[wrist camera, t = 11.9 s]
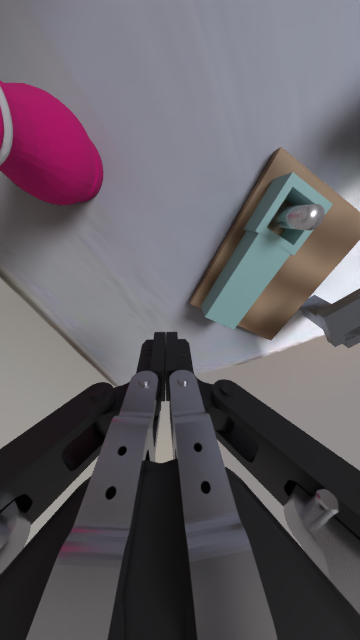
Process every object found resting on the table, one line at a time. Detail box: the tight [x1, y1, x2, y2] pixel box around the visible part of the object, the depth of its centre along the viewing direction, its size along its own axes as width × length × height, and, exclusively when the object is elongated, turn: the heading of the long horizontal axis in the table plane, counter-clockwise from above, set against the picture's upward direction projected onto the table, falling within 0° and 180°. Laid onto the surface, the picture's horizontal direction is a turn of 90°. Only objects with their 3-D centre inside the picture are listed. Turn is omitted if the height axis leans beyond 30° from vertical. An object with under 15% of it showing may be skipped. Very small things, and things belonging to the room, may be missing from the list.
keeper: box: [300, 289, 360, 348], centre depth 24 cm, size 6×5×8 cm
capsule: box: [269, 204, 325, 231], centre depth 19 cm, size 2×2×8 cm
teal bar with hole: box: [201, 172, 333, 330], centre depth 22 cm, size 16×5×4 cm, turn 153°
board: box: [190, 147, 360, 340], centre depth 25 cm, size 19×15×1 cm
